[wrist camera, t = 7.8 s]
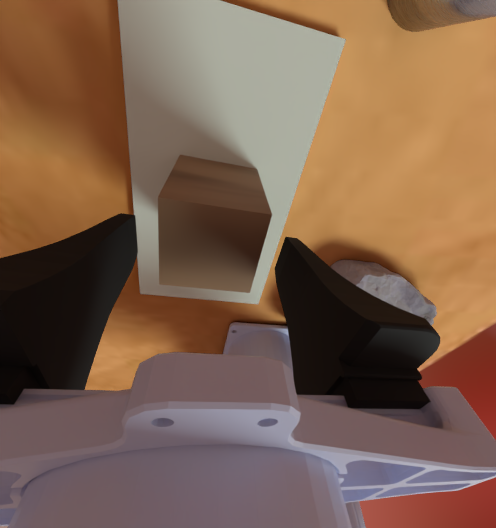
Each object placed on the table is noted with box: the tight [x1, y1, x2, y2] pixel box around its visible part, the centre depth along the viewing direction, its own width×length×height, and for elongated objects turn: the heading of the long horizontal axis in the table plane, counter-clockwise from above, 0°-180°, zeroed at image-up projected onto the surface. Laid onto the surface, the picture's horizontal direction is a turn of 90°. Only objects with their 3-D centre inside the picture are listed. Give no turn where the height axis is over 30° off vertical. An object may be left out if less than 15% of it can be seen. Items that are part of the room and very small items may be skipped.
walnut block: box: [158, 155, 272, 293], centre depth 13 cm, size 4×4×6 cm
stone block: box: [330, 260, 437, 325], centre depth 23 cm, size 12×5×10 cm
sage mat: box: [118, 0, 346, 304], centre depth 16 cm, size 18×10×1 cm, turn 168°
